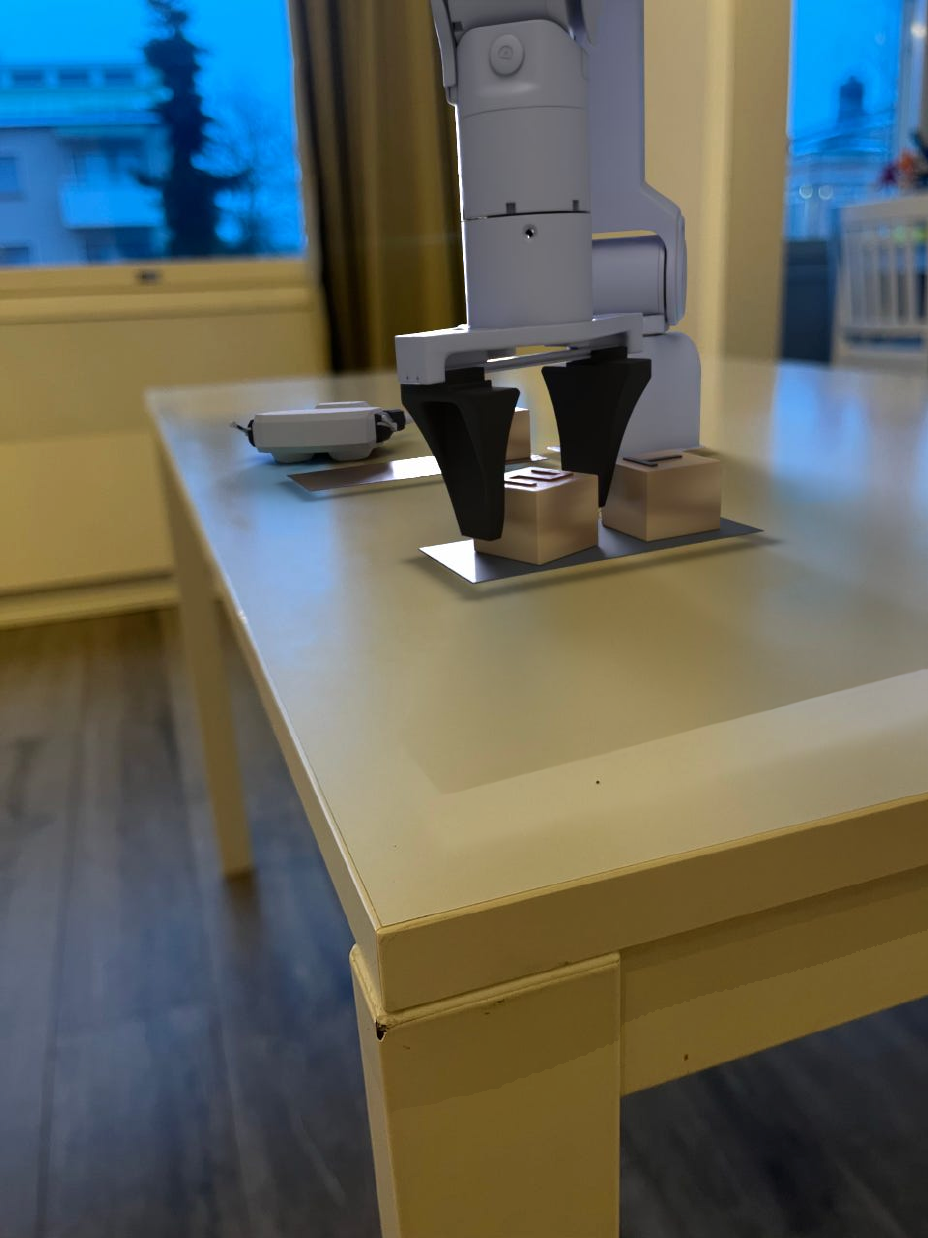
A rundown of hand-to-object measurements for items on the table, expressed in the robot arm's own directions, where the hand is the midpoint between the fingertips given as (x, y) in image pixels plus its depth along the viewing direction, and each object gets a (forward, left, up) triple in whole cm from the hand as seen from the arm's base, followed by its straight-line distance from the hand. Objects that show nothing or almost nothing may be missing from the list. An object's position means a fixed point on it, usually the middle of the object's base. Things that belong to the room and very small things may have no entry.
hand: (536, 520), depth 47 cm
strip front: (-3, 0, -2) cm, 4 cm away
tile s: (0, 0, -1) cm, 1 cm away
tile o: (-9, -25, -1) cm, 27 cm away
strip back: (-3, -25, -2) cm, 25 cm away
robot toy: (0, -37, -2) cm, 37 cm away
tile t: (-7, 0, -1) cm, 7 cm away
